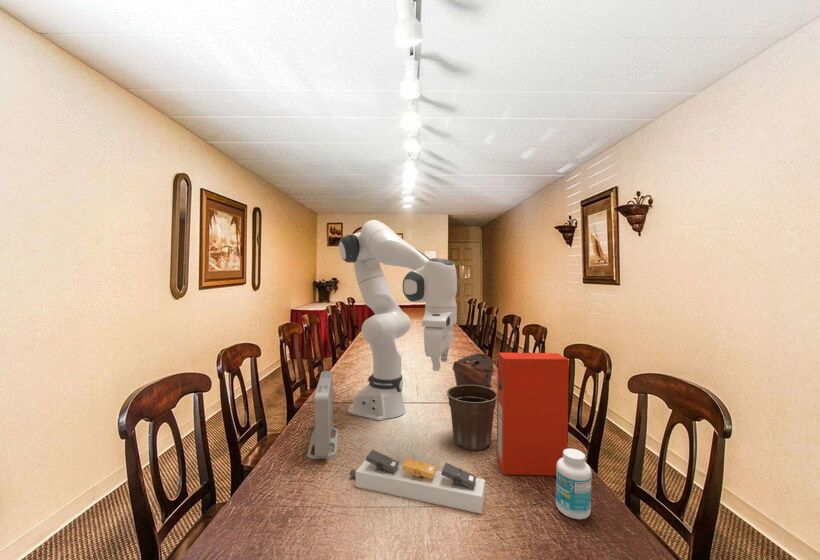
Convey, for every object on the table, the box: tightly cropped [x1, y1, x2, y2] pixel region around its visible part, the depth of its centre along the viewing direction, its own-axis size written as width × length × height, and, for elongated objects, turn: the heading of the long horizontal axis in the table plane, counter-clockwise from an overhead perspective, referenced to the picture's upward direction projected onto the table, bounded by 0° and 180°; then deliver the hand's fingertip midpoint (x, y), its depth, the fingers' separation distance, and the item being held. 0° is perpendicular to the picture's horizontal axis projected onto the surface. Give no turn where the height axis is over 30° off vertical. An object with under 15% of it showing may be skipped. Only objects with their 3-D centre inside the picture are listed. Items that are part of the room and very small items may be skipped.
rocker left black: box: [365, 449, 400, 474], centre depth 92 cm, size 8×4×2 cm, turn 73°
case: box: [452, 353, 494, 389], centre depth 154 cm, size 18×20×18 cm
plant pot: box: [446, 385, 497, 451], centre depth 115 cm, size 16×16×16 cm
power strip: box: [349, 459, 486, 515], centre depth 89 cm, size 35×7×4 cm, turn 72°
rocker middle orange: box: [402, 457, 438, 479], centre depth 89 cm, size 8×4×2 cm, turn 72°
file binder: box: [496, 352, 570, 476], centre depth 99 cm, size 8×17×32 cm, turn 89°
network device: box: [306, 370, 340, 460], centre depth 113 cm, size 26×9×20 cm, turn 9°
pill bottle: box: [555, 448, 593, 520], centre depth 82 cm, size 8×7×14 cm
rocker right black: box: [441, 462, 477, 489], centre depth 86 cm, size 8×4×2 cm, turn 73°
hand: (440, 365), depth 99 cm, fingers open, 8 cm apart
